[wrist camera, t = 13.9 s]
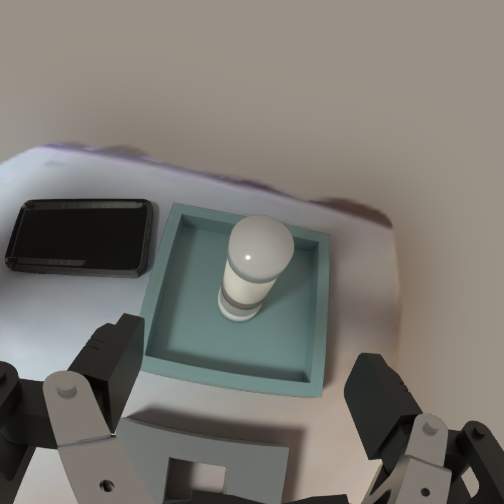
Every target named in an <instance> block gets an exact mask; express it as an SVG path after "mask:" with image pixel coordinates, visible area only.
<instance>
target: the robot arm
mask: <svg viewBox="0 0 504 504" xmlns="http://www.w3.org/2000/svg"><path fill="white" fill-rule="evenodd" d="M144 330H145V319H144V318H143V317H139V316H134V315H130V314H126V313H124V314H123V315H122V316H121V318H120V319H119V321H118V322H117V324H116V325H114V324H110V323H107V324H105V325H103V326H101V327H100V328H98V329H97V330H96V331H95V332H94V334H93V335H92V336H91V339H89V340H88V342H87V343H86V346H84V347H83V349H82V350H81V351H80V353H79V354H78V355H77V357H76V358H75V360H74V361H73V362H72V364H71V365H70V367H69V368H68V370H67V371H58V372H55V373H53V374H51V375H49V376H48V377H47V378H46V379H45V381H34V380H27V379H20V378H19V376H18V372H17V370H16V369H15V367H14V366H12V365H11V364H9V363H7V362H3V361H0V504H13V502H14V500H15V497H16V494H17V492H18V489H19V487H20V484H21V482H22V479H23V477H24V475H25V472H26V470H27V468H28V465H29V463H30V461H31V458H32V456H33V454H34V452H35V449H36V447H41V448H49V449H57V450H58V452H59V455H60V458H61V461H62V464H63V467H64V469H65V472H66V475H67V477H68V480H69V483H70V485H71V488H72V490H73V492H74V495H75V497H76V499H77V502H78V504H156V502H155V501H154V499H153V498H152V496H151V495H150V493H149V492H148V490H147V488H146V487H145V485H144V484H143V482H142V480H141V479H140V477H139V475H138V474H137V472H136V470H135V468H134V467H133V465H132V463H131V461H130V460H129V458H128V456H127V454H126V452H125V450H124V449H123V447H122V445H121V443H120V441H119V439H118V438H117V437H116V435H112V434H114V433H115V430H116V428H117V425H118V423H119V420H120V418H121V415H122V412H123V410H124V407H125V405H126V402H127V400H128V398H129V395H130V393H131V390H132V388H133V385H134V383H135V380H136V378H137V376H138V373H139V371H140V368H141V365H142V361H143V353H144ZM344 398H345V400H346V403H347V405H348V408H349V410H350V413H351V416H352V418H353V421H354V423H355V426H356V428H357V431H358V433H359V436H360V439H361V441H362V444H363V446H364V449H365V452H366V454H367V457H368V460H375V459H382V463H381V465H380V466H379V467H378V469H377V471H376V474H375V476H374V478H373V480H372V482H371V485H370V487H369V489H368V491H367V493H366V495H365V497H364V499H363V501H362V502H361V504H504V451H503V450H502V448H501V447H500V445H499V443H498V442H497V440H496V439H495V437H494V436H493V434H492V433H491V431H490V430H489V429H488V428H487V427H486V426H485V425H484V424H482V423H480V422H478V421H469V422H467V423H466V424H465V426H464V427H463V428H462V430H461V431H455V430H448V429H447V426H446V424H445V423H444V422H443V421H442V420H441V419H440V418H438V417H436V416H434V415H432V414H426V413H425V414H423V412H422V411H421V409H420V407H419V406H418V404H417V403H416V401H415V400H414V398H413V396H412V395H411V393H410V392H408V388H407V387H406V385H404V382H403V381H402V380H401V378H400V376H399V375H398V374H397V373H396V372H395V371H394V370H393V369H391V368H390V367H388V365H387V363H386V362H385V360H384V359H383V357H382V356H381V355H380V354H372V353H361V354H360V355H359V356H358V358H357V360H356V362H355V365H354V367H353V369H352V371H351V373H350V375H349V377H348V379H347V382H346V384H345V387H344ZM111 433H112V434H111ZM470 466H471V468H472V470H473V472H474V474H475V476H476V478H477V480H478V481H479V490H478V492H477V494H476V495H475V496H474V497H473V498H471V496H470V494H469V492H468V490H467V488H466V486H465V484H464V482H463V480H462V478H461V475H463V473H464V472H465V471H466V470H467V469H468V468H469V467H470ZM162 504H265V503H261V502H257V501H253V500H249V499H245V498H242V497H238V496H235V495H228V494H218V493H210V492H203V491H196V490H192V493H191V498H190V499H182V500H175V501H169V502H165V503H162ZM285 504H349V502H348V498H347V495H346V494H342V495H331V496H316V497H309V498H306V499H302V500H298V501H293V502H289V503H285Z"/></svg>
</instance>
